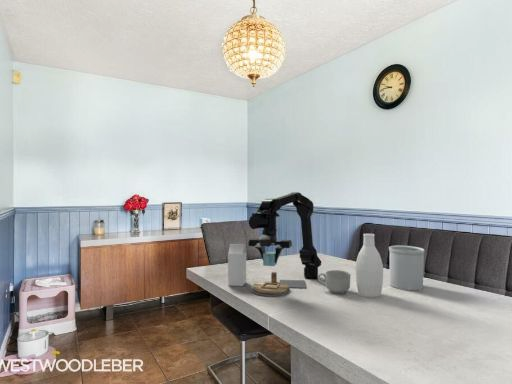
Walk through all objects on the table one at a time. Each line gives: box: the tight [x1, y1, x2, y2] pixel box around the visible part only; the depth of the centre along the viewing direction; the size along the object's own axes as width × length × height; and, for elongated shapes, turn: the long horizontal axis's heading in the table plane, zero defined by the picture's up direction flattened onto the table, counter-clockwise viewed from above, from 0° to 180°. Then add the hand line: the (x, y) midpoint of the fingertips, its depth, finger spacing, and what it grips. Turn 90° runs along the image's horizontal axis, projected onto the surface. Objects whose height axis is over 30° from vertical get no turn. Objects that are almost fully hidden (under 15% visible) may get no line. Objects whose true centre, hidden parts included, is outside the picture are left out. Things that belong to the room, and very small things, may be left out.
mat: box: [279, 279, 307, 289], centre depth 152 cm, size 12×12×1 cm
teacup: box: [317, 269, 352, 294], centre depth 142 cm, size 14×11×8 cm
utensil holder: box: [388, 245, 426, 291], centre depth 148 cm, size 15×15×18 cm
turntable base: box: [250, 287, 291, 297], centre depth 143 cm, size 17×17×1 cm
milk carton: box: [227, 243, 247, 287], centre depth 153 cm, size 7×7×19 cm
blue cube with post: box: [262, 251, 278, 267], centre depth 142 cm, size 8×5×5 cm, turn 163°
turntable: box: [251, 271, 288, 294], centre depth 143 cm, size 16×16×5 cm
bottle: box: [355, 233, 384, 299], centre depth 136 cm, size 11×11×25 cm
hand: (270, 262), depth 143 cm, fingers closed on blue cube with post, 5 cm apart
